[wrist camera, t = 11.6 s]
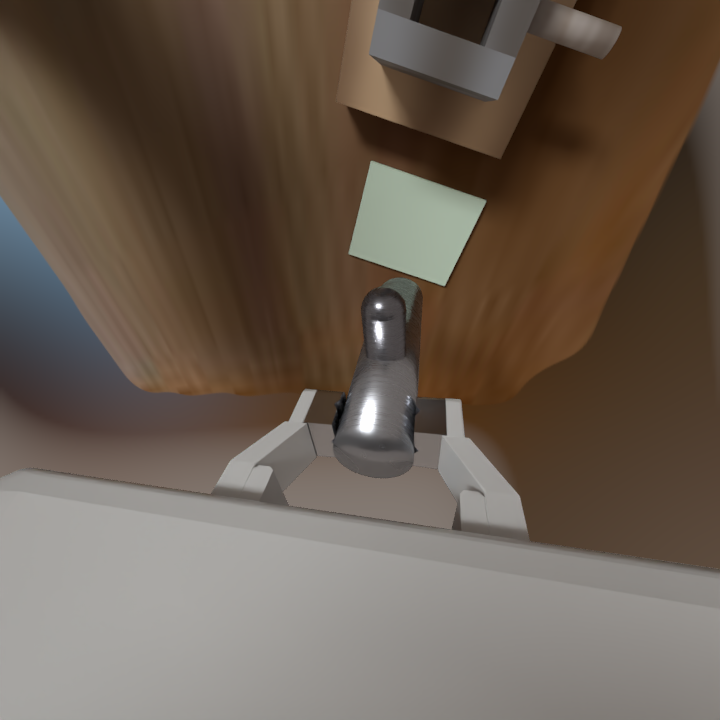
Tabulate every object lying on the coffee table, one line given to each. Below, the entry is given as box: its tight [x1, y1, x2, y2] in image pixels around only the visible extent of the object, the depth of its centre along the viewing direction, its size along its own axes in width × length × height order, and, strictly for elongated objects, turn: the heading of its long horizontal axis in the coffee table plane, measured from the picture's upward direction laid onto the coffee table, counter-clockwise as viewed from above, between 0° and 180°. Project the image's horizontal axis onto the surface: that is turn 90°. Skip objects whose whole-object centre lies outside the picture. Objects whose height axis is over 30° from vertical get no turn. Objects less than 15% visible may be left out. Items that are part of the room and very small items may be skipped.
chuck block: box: [336, 0, 622, 159], centre depth 17 cm, size 14×12×8 cm
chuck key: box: [333, 278, 423, 478], centre depth 14 cm, size 8×3×10 cm, turn 5°
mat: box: [349, 161, 486, 286], centre depth 28 cm, size 10×8×1 cm
